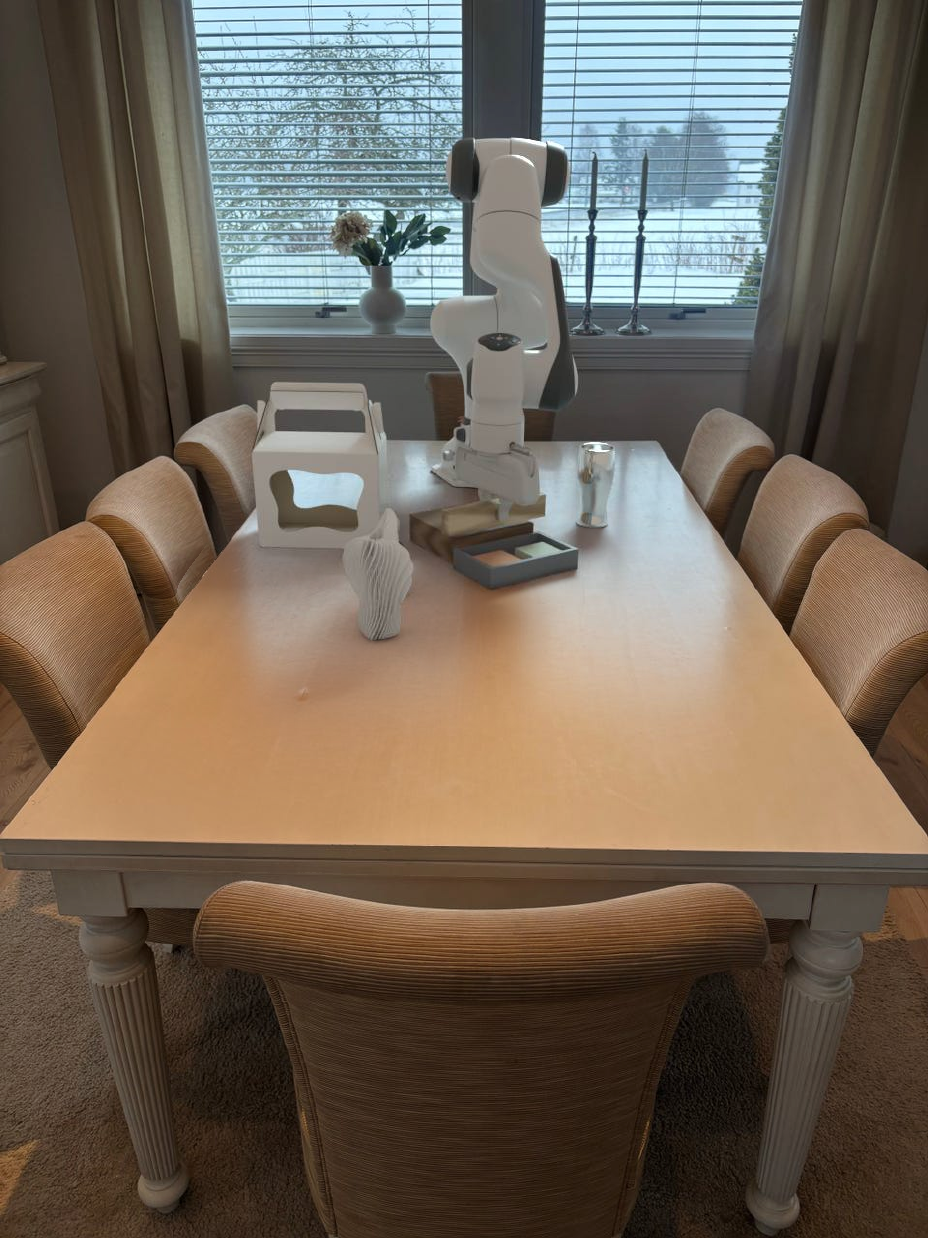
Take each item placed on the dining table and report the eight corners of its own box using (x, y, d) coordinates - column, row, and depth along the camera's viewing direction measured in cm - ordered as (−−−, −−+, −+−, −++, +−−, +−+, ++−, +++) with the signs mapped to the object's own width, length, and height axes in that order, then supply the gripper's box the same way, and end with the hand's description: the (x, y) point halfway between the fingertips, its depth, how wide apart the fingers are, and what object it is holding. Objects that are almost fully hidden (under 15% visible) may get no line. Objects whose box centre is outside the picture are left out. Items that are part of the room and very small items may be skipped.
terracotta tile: (492, 567, 150) (492, 578, 151) (522, 560, 153) (522, 571, 154) (472, 556, 155) (472, 567, 156) (501, 549, 158) (501, 560, 159)
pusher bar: (441, 532, 156) (441, 509, 154) (536, 512, 166) (537, 490, 164) (449, 536, 154) (449, 513, 152) (545, 516, 164) (546, 494, 162)
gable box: (258, 547, 166) (244, 388, 154) (273, 524, 178) (262, 375, 166) (382, 550, 165) (377, 390, 154) (389, 526, 177) (386, 376, 166)
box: (453, 568, 157) (453, 549, 156) (538, 549, 166) (538, 530, 165) (490, 589, 149) (491, 569, 147) (577, 568, 158) (578, 548, 156)
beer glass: (609, 518, 183) (615, 442, 177) (610, 529, 177) (616, 451, 171) (573, 516, 184) (578, 441, 177) (574, 528, 177) (578, 450, 171)
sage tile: (536, 558, 154) (536, 569, 155) (564, 551, 157) (564, 562, 158) (514, 547, 159) (514, 558, 159) (542, 541, 162) (542, 552, 162)
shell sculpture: (365, 652, 128) (360, 528, 120) (343, 629, 134) (338, 510, 127) (419, 641, 131) (418, 519, 124) (396, 619, 138) (393, 502, 131)
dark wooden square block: (409, 540, 170) (409, 513, 168) (481, 525, 178) (482, 500, 176) (457, 566, 158) (457, 539, 156) (532, 549, 166) (533, 523, 164)
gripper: (551, 447, 147) (547, 530, 153) (478, 423, 163) (477, 499, 169) (519, 452, 144) (516, 537, 150) (448, 427, 160) (447, 505, 165)
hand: (494, 517), depth 159 cm, fingers closed on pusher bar, 2 cm apart
